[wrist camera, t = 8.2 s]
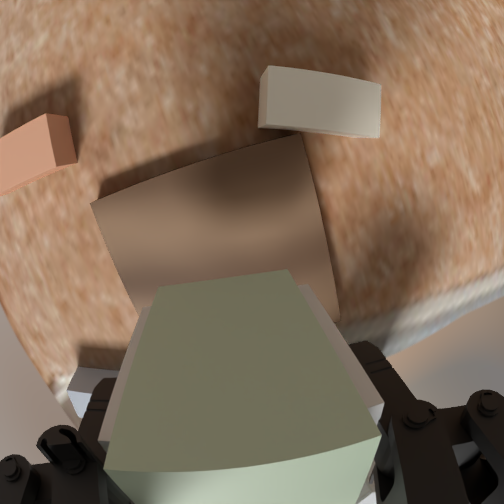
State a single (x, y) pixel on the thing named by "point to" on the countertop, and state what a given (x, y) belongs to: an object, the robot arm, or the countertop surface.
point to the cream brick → (319, 103)
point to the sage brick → (239, 402)
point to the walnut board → (221, 223)
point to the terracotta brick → (35, 151)
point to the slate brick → (86, 386)
